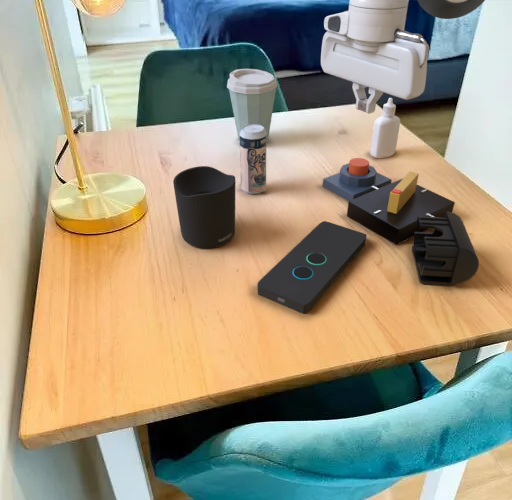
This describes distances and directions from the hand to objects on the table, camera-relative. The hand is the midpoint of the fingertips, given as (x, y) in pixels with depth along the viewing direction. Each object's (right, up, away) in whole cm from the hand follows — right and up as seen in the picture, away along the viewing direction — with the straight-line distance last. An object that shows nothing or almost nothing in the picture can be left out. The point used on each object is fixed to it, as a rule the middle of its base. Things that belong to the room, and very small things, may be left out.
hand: (365, 110), depth 87 cm
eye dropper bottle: (+8, -4, +20) cm, 22 cm away
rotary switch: (+6, -18, 0) cm, 19 cm away
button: (0, -10, +7) cm, 12 cm away
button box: (0, -12, +8) cm, 15 cm away
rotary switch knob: (+6, -16, -2) cm, 17 cm away
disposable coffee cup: (-19, 0, +26) cm, 33 cm away
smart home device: (-10, -27, -12) cm, 31 cm away
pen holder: (-27, -22, -4) cm, 35 cm away
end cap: (+8, -27, -12) cm, 30 cm away
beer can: (-19, -13, +8) cm, 24 cm away
